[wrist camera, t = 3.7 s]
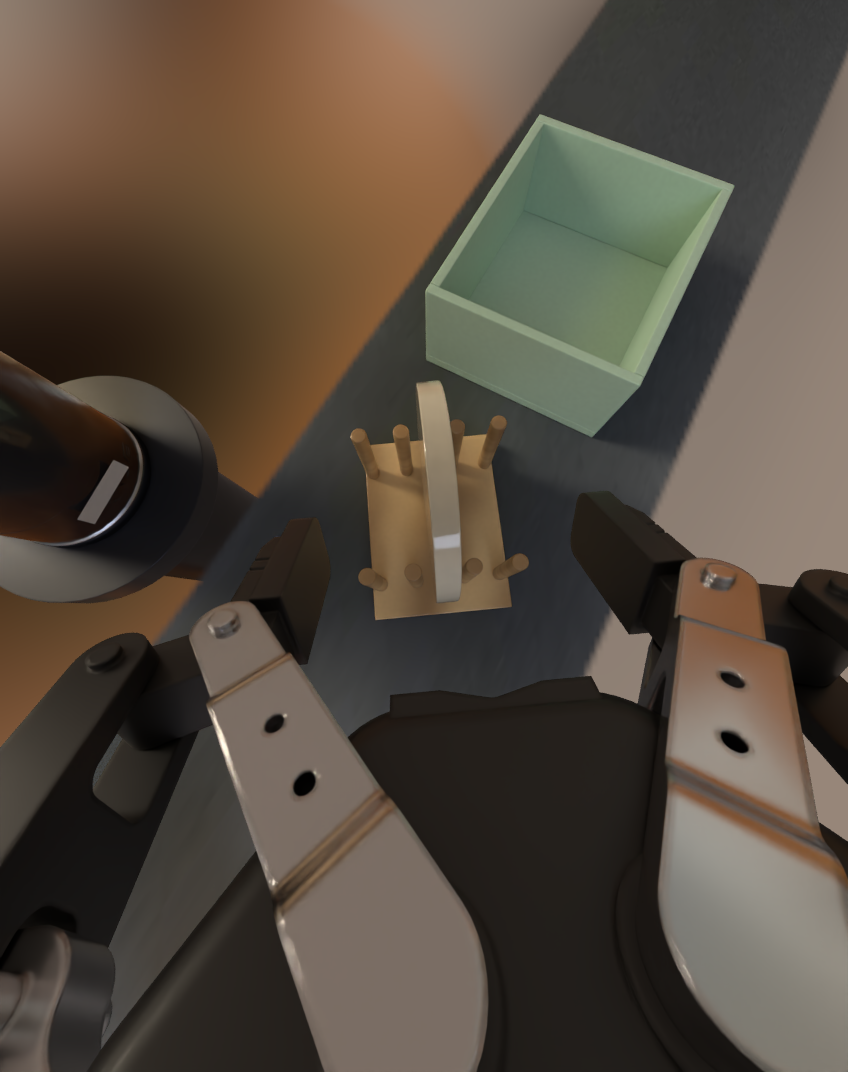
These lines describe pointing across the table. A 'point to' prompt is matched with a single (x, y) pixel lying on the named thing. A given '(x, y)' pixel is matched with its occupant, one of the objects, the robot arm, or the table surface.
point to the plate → (439, 491)
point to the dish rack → (403, 527)
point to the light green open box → (571, 273)
